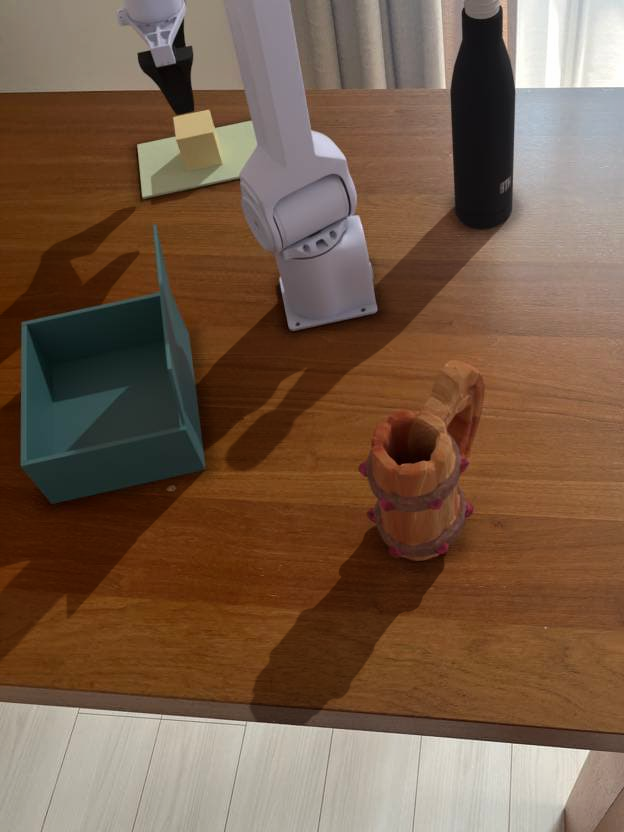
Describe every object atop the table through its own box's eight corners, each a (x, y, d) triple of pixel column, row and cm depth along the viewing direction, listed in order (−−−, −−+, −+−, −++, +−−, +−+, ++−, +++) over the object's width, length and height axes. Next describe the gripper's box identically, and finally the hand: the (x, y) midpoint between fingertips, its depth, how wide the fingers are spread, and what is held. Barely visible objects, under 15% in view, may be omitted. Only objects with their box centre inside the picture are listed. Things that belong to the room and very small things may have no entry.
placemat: (263, 120, 110) (263, 117, 110) (274, 171, 106) (274, 168, 105) (137, 146, 110) (137, 144, 110) (143, 199, 105) (142, 197, 105)
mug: (433, 592, 77) (423, 501, 64) (356, 551, 79) (330, 456, 66) (515, 469, 82) (520, 361, 69) (439, 434, 85) (431, 325, 72)
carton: (189, 334, 94) (170, 289, 88) (205, 470, 85) (185, 429, 79) (49, 365, 93) (21, 322, 88) (51, 504, 84) (20, 466, 79)
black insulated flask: (458, 189, 101) (447, -104, 75) (514, 191, 100) (523, -105, 74) (451, 228, 98) (438, -63, 72) (509, 230, 97) (517, -64, 71)
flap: (166, 285, 88) (169, 285, 88) (181, 425, 79) (185, 424, 79) (152, 224, 81) (156, 224, 81) (167, 369, 73) (171, 368, 73)
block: (219, 141, 109) (209, 109, 105) (223, 164, 106) (213, 132, 103) (183, 149, 108) (172, 116, 105) (187, 172, 106) (175, 139, 103)
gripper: (97, -68, 90) (142, 60, 102) (102, 10, 83) (151, 138, 95) (165, -82, 90) (203, 48, 102) (176, -6, 83) (215, 124, 95)
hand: (182, 90), depth 99 cm, fingers open, 7 cm apart
